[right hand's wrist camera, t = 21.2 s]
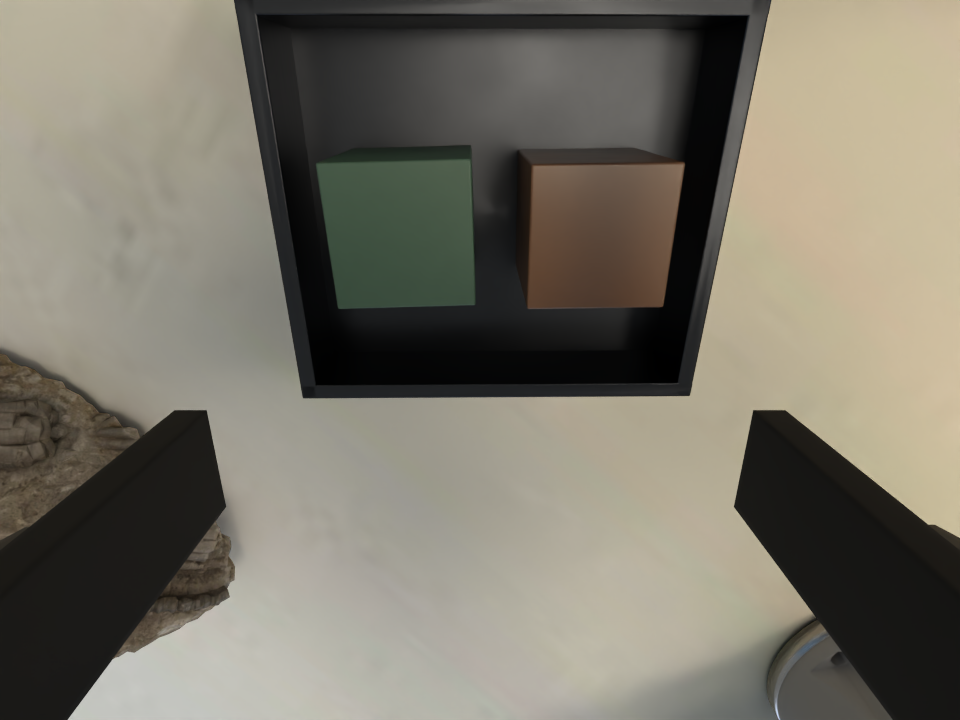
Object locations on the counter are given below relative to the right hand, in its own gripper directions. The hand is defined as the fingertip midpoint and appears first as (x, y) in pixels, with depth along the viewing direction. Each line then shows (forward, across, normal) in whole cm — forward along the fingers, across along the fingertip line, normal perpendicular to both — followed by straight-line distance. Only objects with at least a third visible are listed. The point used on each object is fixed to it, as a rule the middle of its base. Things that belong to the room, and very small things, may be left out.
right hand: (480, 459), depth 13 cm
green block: (+10, +2, -5) cm, 11 cm away
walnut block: (+10, -4, -5) cm, 12 cm away
